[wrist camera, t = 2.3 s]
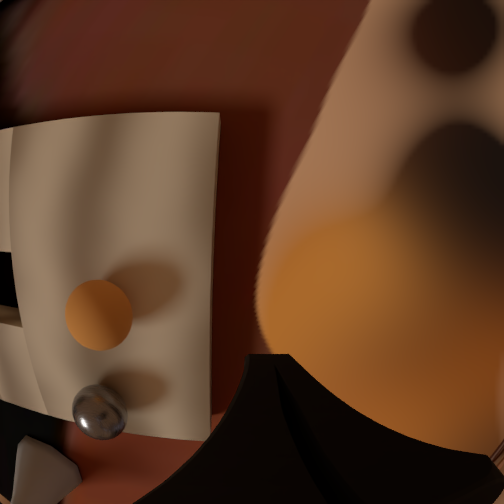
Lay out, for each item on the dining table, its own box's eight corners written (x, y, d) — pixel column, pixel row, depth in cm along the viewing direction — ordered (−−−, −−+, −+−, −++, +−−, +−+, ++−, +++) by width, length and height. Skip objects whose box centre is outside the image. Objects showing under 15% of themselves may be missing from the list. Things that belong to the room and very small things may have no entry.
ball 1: (138, 273, 14) (116, 296, 11) (142, 334, 15) (124, 368, 12) (79, 269, 14) (47, 289, 11) (86, 328, 14) (60, 357, 11)
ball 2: (129, 377, 15) (113, 414, 12) (137, 419, 16) (125, 456, 13) (78, 369, 15) (56, 401, 12) (89, 411, 16) (72, 444, 12)
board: (220, 123, 15) (219, 112, 13) (211, 415, 19) (210, 441, 16) (-30, 145, 14) (-53, 143, 11) (-2, 376, 17) (-17, 392, 15)
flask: (19, 423, 19) (-29, 494, 9) (88, 463, 20) (56, 547, 10) (19, 458, 20) (-16, 520, 10) (79, 492, 21) (54, 561, 11)
